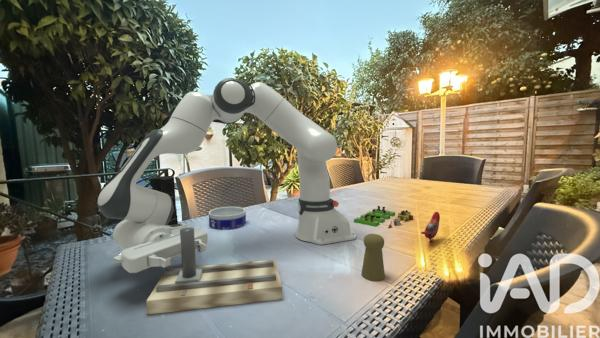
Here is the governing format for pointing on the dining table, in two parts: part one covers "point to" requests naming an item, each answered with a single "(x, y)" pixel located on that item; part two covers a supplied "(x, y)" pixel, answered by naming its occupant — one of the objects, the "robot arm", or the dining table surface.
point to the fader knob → (188, 258)
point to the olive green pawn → (373, 258)
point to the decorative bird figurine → (432, 227)
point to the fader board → (217, 287)
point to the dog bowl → (227, 218)
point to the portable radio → (168, 187)
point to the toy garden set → (382, 217)
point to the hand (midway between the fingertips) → (186, 255)
